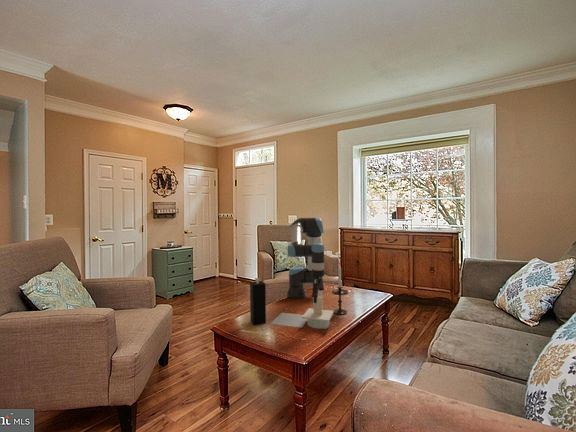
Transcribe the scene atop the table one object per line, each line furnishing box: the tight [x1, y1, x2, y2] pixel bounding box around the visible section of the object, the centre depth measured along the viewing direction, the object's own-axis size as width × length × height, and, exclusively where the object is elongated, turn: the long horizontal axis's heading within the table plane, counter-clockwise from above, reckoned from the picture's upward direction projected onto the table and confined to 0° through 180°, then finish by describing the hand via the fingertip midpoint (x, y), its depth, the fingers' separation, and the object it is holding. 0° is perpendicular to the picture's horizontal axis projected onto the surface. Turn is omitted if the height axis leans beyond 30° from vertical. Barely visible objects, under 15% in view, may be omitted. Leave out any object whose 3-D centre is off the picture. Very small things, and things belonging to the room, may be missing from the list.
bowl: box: [306, 319, 331, 330], centre depth 177 cm, size 13×13×6 cm
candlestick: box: [331, 261, 349, 316], centre depth 198 cm, size 11×11×35 cm
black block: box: [249, 277, 267, 326], centre depth 181 cm, size 8×8×28 cm
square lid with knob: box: [302, 296, 334, 321], centre depth 177 cm, size 16×16×11 cm
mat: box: [269, 312, 307, 328], centre depth 185 cm, size 20×20×1 cm
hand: (318, 304), depth 177 cm, fingers open, 13 cm apart
